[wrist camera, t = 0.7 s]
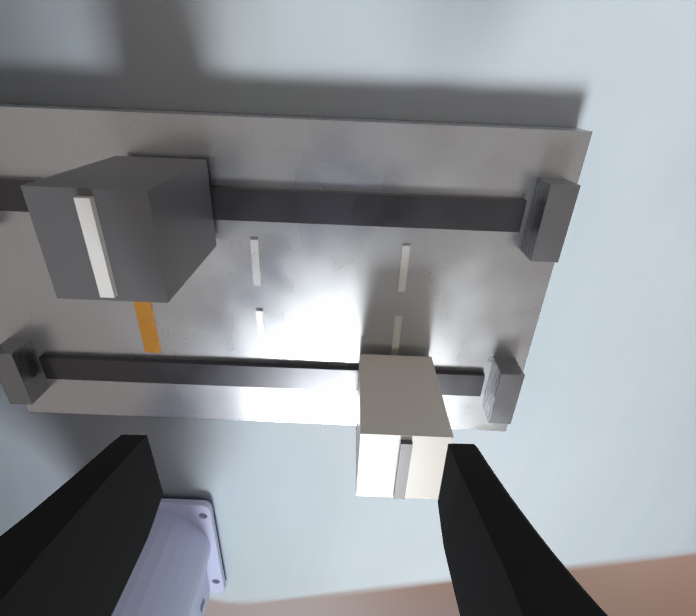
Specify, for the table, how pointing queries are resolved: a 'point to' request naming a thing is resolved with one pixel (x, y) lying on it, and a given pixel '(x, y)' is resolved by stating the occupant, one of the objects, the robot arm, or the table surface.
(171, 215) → the fader charcoal
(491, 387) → the console
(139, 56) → the table surface
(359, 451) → the block
